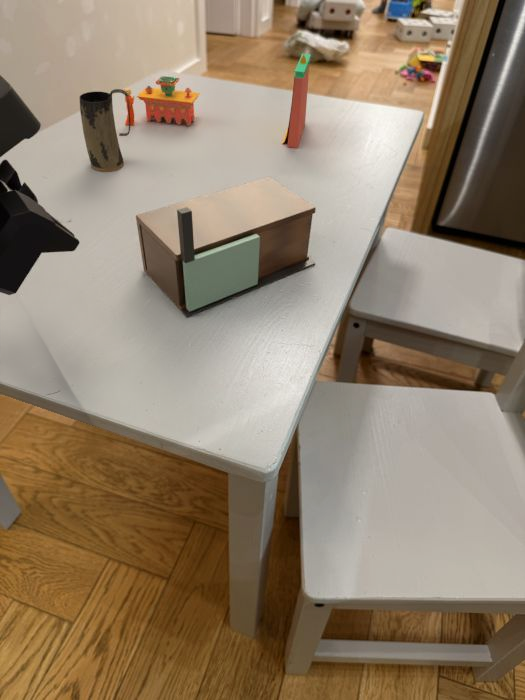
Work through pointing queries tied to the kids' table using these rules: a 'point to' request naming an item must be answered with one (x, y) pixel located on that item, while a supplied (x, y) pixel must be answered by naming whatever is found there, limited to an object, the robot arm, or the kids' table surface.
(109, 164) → the mug
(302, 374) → the kids' table surface
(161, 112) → the building blocks
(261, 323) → the kids' table surface
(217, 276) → the sliding door
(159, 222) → the cabinet
